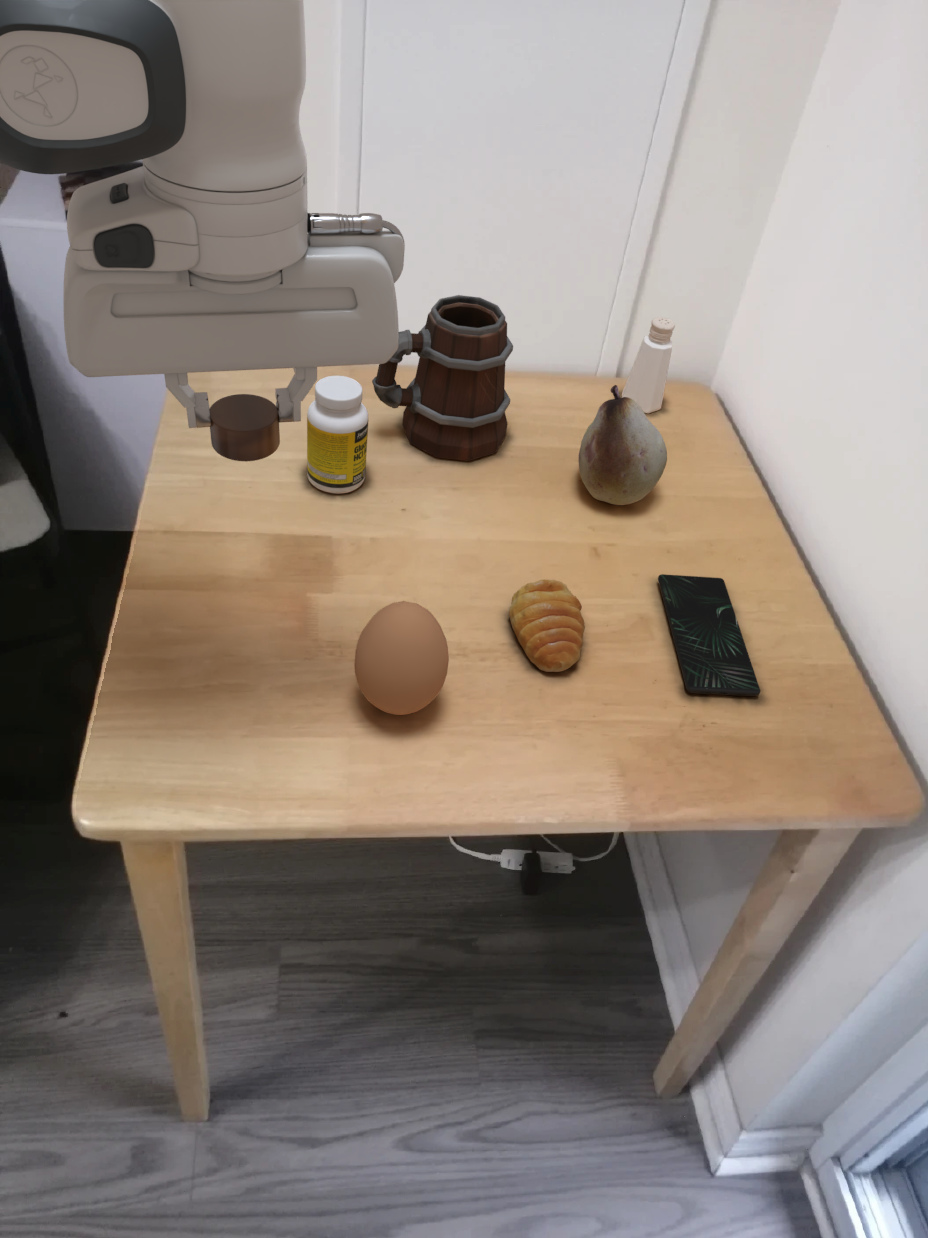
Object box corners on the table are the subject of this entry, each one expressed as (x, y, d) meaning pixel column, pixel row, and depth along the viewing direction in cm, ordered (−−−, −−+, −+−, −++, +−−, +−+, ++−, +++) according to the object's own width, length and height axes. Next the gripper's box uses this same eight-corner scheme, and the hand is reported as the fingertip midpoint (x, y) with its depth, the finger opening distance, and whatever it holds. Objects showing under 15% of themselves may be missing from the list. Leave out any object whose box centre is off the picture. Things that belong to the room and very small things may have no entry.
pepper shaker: (613, 391, 120) (634, 310, 112) (652, 389, 121) (675, 310, 114) (628, 414, 116) (651, 333, 109) (668, 413, 118) (693, 332, 110)
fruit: (580, 455, 109) (602, 362, 100) (659, 475, 108) (689, 383, 99) (563, 505, 102) (586, 410, 93) (648, 528, 100) (679, 433, 92)
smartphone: (688, 688, 83) (658, 572, 94) (685, 696, 84) (655, 580, 94) (762, 692, 84) (724, 577, 94) (758, 699, 85) (721, 584, 95)
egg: (342, 726, 77) (345, 634, 69) (364, 660, 82) (370, 568, 75) (432, 745, 77) (446, 655, 69) (449, 678, 82) (463, 587, 74)
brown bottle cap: (214, 464, 62) (211, 433, 61) (208, 425, 65) (205, 395, 64) (284, 459, 64) (283, 429, 62) (275, 421, 67) (273, 391, 65)
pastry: (593, 676, 84) (602, 647, 81) (519, 678, 83) (526, 649, 80) (571, 603, 91) (579, 574, 88) (503, 604, 89) (509, 574, 87)
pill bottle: (362, 498, 98) (367, 407, 91) (303, 492, 98) (303, 400, 90) (367, 464, 103) (372, 374, 95) (311, 458, 102) (311, 367, 95)
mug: (484, 401, 115) (502, 283, 104) (516, 458, 107) (539, 338, 96) (359, 408, 110) (364, 287, 100) (382, 469, 102) (390, 344, 92)
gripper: (395, 192, 58) (384, 387, 68) (42, 191, 53) (85, 402, 63) (418, 236, 54) (404, 436, 64) (38, 239, 49) (85, 458, 59)
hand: (243, 420), depth 63 cm, fingers closed on brown bottle cap, 4 cm apart
